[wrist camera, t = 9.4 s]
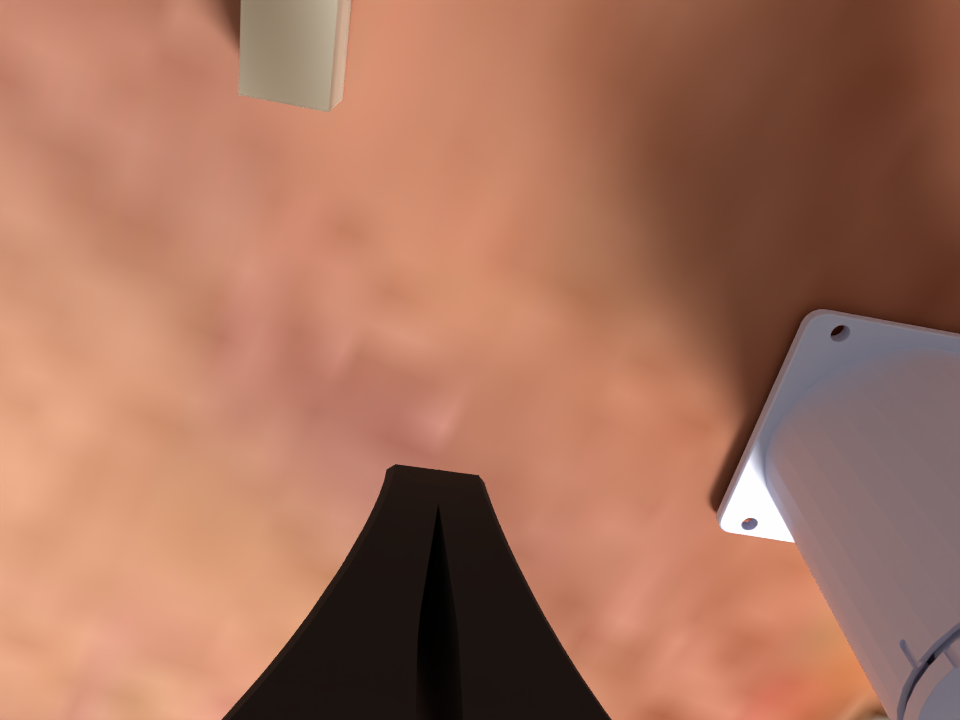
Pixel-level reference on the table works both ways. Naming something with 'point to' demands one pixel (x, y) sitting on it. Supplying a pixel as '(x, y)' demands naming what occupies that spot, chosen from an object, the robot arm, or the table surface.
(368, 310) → the table surface
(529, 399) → the table surface
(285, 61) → the stop rail
